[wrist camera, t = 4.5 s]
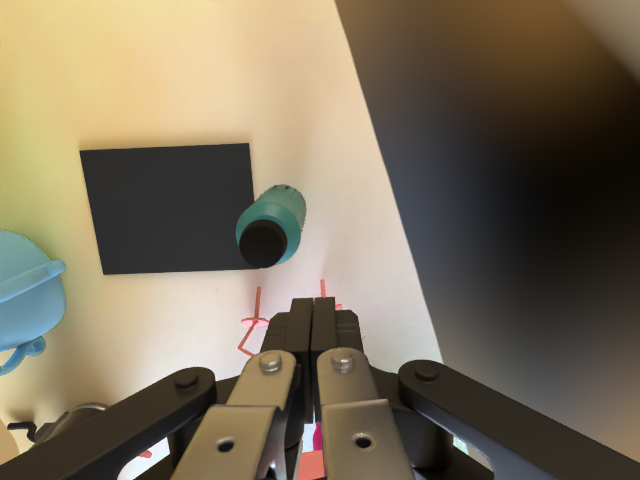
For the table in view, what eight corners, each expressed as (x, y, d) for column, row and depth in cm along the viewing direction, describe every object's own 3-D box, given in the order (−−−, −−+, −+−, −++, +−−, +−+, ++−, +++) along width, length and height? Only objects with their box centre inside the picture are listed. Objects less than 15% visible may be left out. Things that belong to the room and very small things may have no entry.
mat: (104, 273, 53) (103, 274, 53) (81, 150, 49) (79, 150, 49) (259, 268, 53) (259, 269, 53) (249, 143, 49) (248, 143, 48)
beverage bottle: (297, 175, 50) (281, 196, 30) (315, 221, 51) (311, 269, 32) (252, 192, 50) (207, 224, 31) (271, 237, 52) (240, 294, 33)
